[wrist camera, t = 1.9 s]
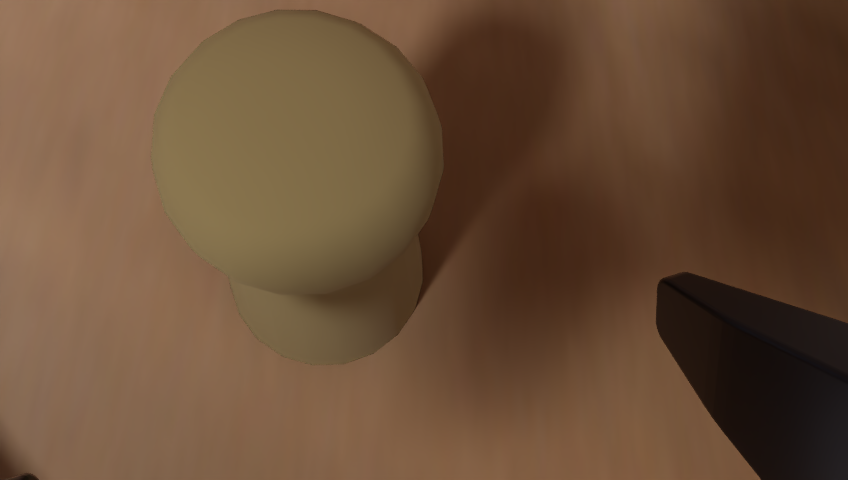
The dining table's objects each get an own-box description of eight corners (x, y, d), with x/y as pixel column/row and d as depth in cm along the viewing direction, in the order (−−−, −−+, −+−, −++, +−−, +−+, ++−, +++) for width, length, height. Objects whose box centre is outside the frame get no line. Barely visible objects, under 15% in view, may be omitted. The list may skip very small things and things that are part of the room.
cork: (327, 143, 22) (295, -110, 12) (462, 265, 22) (555, 111, 11) (188, 271, 21) (10, 110, 10) (328, 408, 20) (289, 385, 10)
